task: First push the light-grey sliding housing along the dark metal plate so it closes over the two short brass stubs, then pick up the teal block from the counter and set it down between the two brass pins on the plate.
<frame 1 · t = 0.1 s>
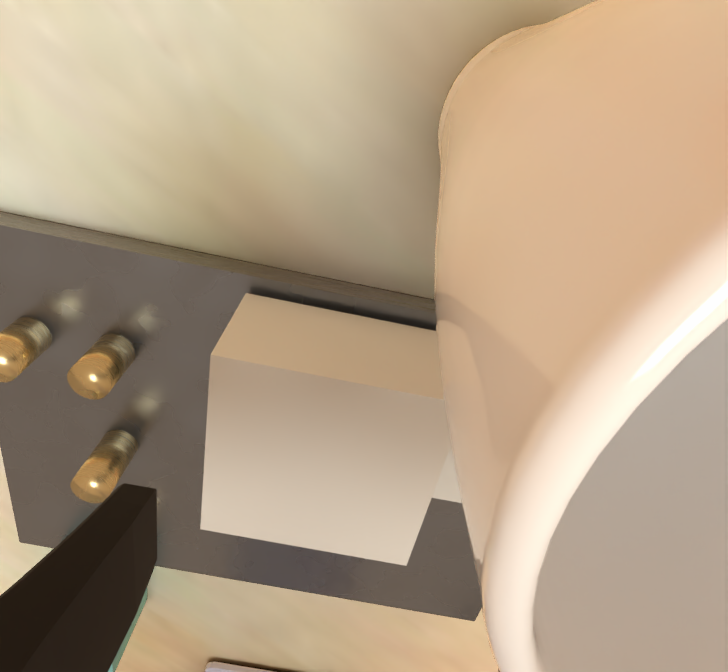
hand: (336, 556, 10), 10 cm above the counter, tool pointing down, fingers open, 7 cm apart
drinking glass: (526, 127, 16), on the counter
housing: (400, 445, 18), point 3 cm above the counter, slide at 0.0 cm
base plate: (274, 444, 22), on the counter
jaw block: (108, 567, 27), on the counter
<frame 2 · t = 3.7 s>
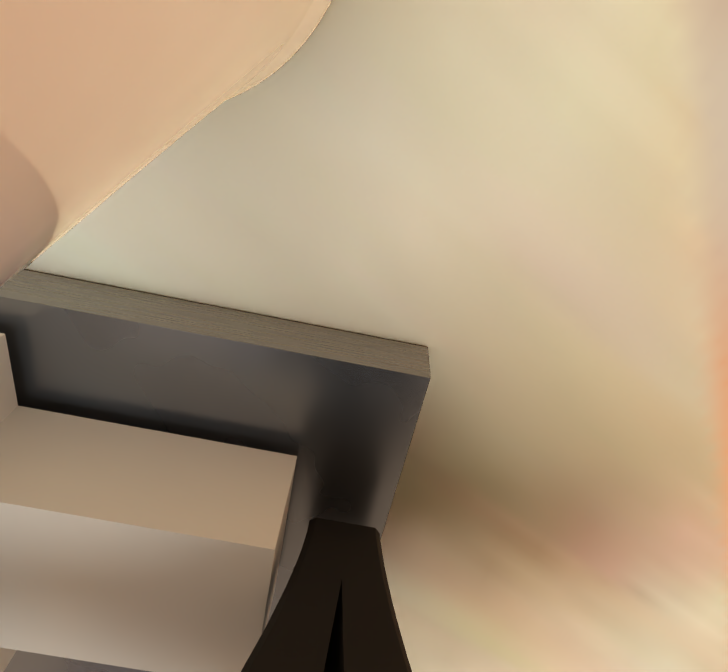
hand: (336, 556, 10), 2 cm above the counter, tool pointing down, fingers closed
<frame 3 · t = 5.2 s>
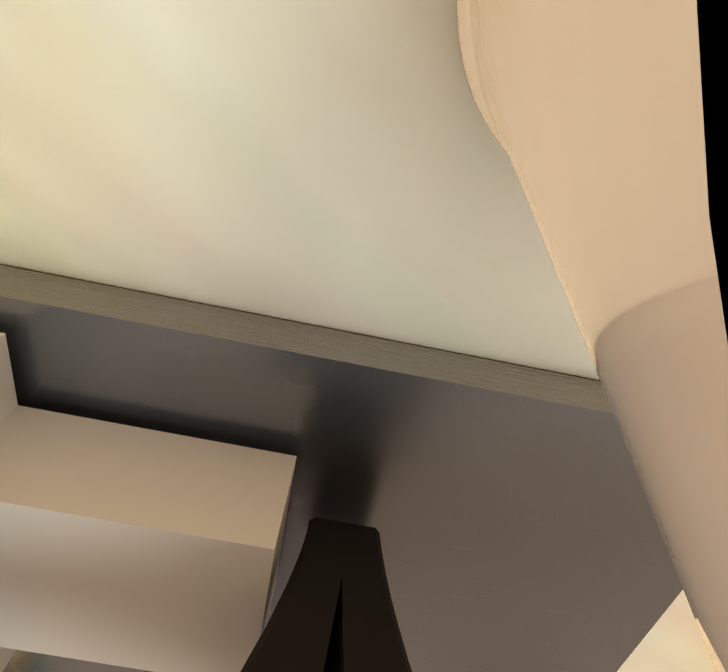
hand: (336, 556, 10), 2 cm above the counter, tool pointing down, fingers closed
base plate: (181, 574, 14), on the counter
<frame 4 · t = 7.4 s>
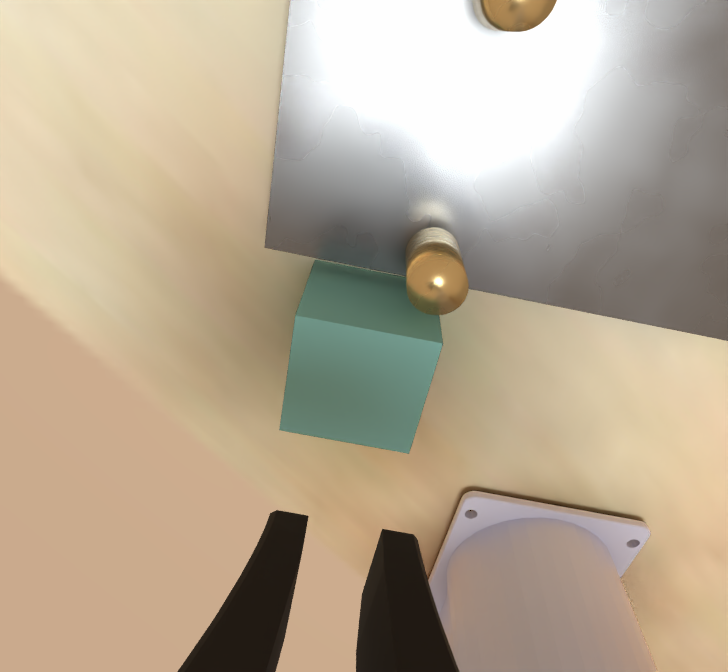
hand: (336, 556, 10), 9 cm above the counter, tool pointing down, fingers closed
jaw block: (363, 322, 19), on the counter
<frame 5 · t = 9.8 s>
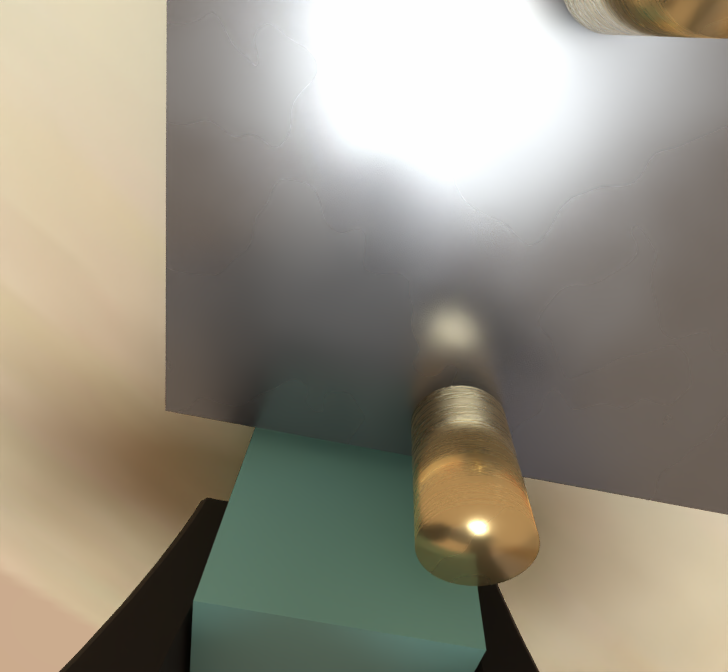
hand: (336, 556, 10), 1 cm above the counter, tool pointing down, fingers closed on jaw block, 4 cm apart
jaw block: (343, 500, 12), on the counter, touching gripper
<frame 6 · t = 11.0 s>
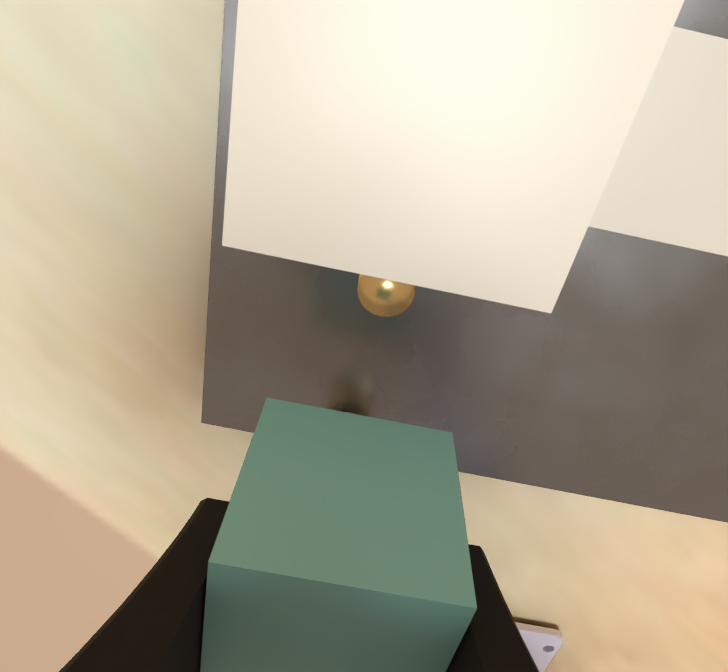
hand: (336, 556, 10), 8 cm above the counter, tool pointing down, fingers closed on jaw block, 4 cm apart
housing: (544, 116, 11), point 3 cm above the counter, slide at 8.1 cm
base plate: (586, 267, 16), on the counter
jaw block: (344, 482, 12), point 6 cm above the counter, touching gripper
when the fingers open (4 cm above the counter, at t = 12.7 s): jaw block stays where it is, resting on base plate.
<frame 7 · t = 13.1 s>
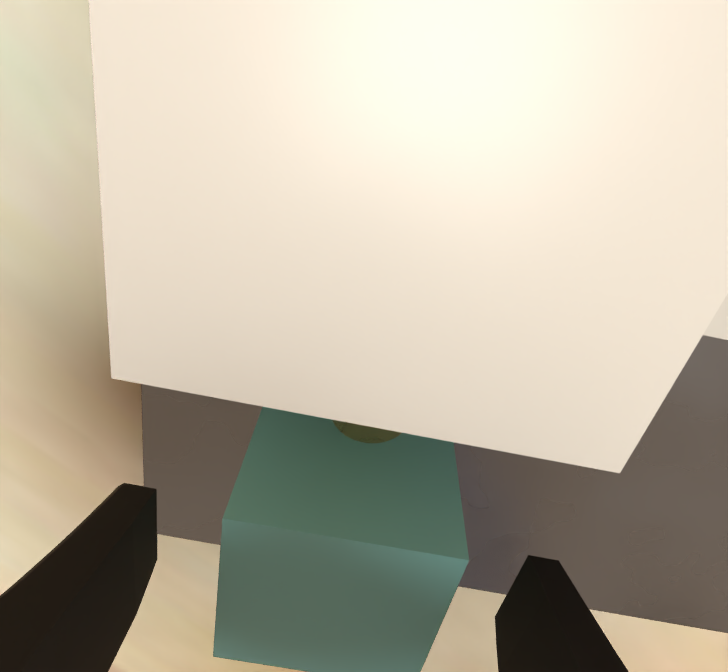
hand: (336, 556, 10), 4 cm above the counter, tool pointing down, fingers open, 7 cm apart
housing: (609, 172, 7), point 3 cm above the counter, slide at 8.1 cm
base plate: (640, 347, 12), on the counter
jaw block: (347, 456, 13), point 1 cm above the counter, touching base plate
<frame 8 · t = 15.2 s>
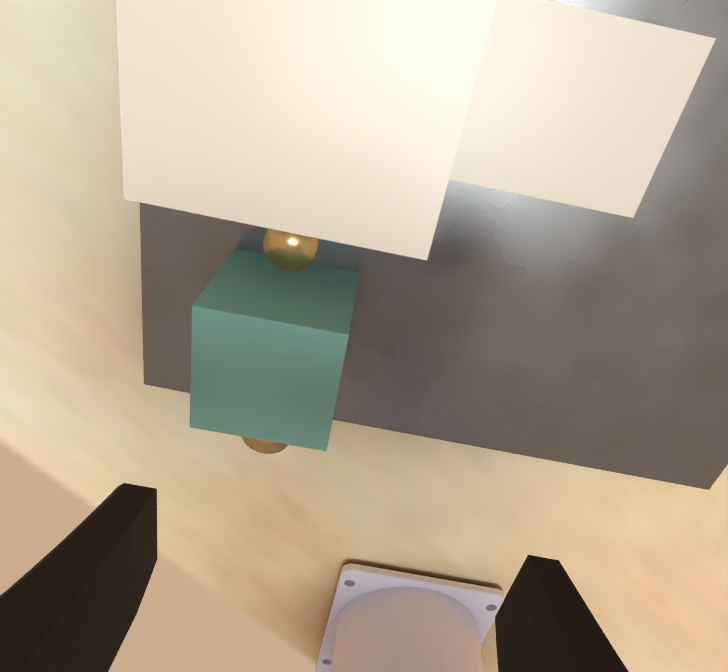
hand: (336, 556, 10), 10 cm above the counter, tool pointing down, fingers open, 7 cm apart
housing: (418, 79, 12), point 3 cm above the counter, slide at 8.1 cm
base plate: (495, 230, 17), on the counter
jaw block: (290, 315, 18), point 1 cm above the counter, touching base plate
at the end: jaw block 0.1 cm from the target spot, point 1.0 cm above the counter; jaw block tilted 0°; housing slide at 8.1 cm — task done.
